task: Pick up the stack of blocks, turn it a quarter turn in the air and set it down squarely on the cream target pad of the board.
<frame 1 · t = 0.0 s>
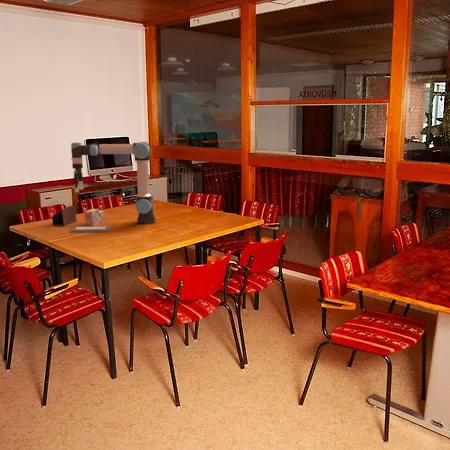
hand: (79, 190, 378), 28 cm above the table, tool pointing down, fingers open, 13 cm apart
letter holder: (64, 223, 395), on the table
base board: (90, 230, 372), on the table
stack of blocks: (95, 224, 392), on the table
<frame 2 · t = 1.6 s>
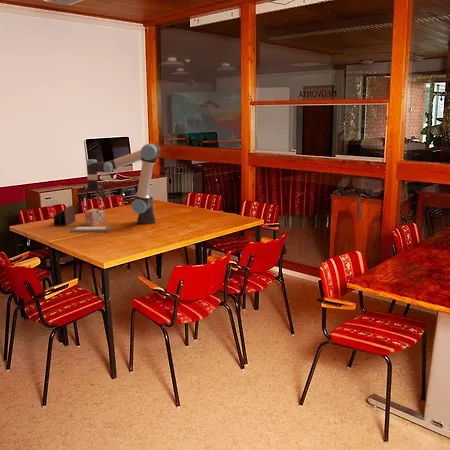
hand: (93, 206, 389), 15 cm above the table, tool pointing down, fingers open, 13 cm apart
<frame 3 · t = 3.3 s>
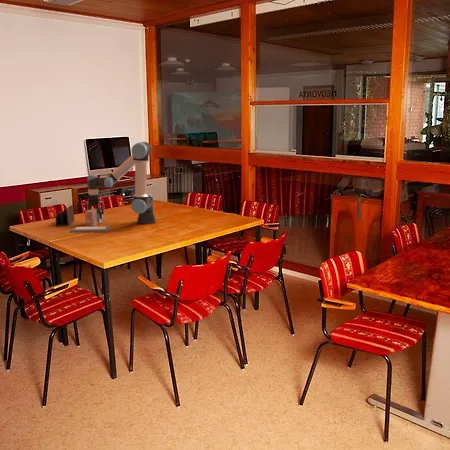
hand: (94, 222, 392), 1 cm above the table, tool pointing down, fingers closed on stack of blocks, 7 cm apart
stack of blocks: (95, 224, 393), on the table, touching gripper
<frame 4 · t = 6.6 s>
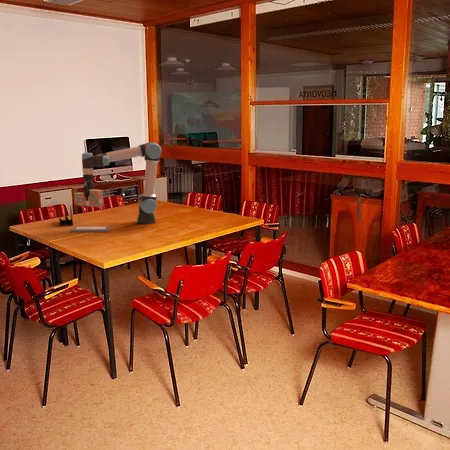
hand: (89, 204, 371), 19 cm above the table, tool pointing down, fingers closed on stack of blocks, 7 cm apart
stack of blocks: (89, 206, 371), point 18 cm above the table, touching gripper
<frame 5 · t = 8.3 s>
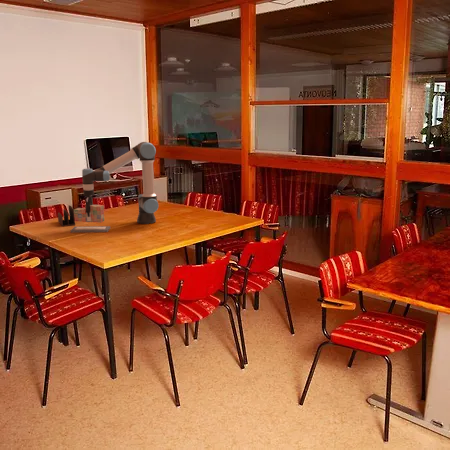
hand: (90, 219, 370), 8 cm above the table, tool pointing down, fingers closed on stack of blocks, 7 cm apart
stack of blocks: (89, 221, 370), point 7 cm above the table, touching gripper
when the fingers open (4 cm above the table, at t = 9.9 s): stack of blocks stays where it is, resting on base board.
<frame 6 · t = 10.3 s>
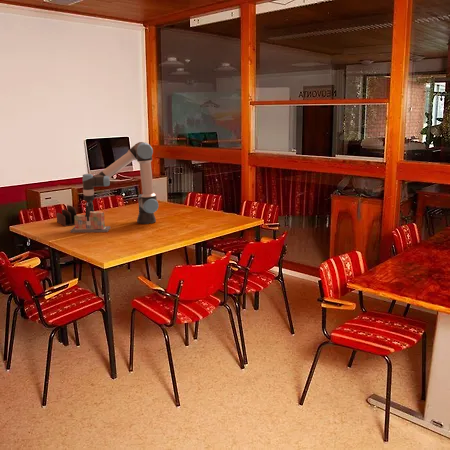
hand: (90, 223, 371), 5 cm above the table, tool pointing down, fingers open, 12 cm apart
stack of blocks: (90, 228, 372), point 2 cm above the table, touching base board
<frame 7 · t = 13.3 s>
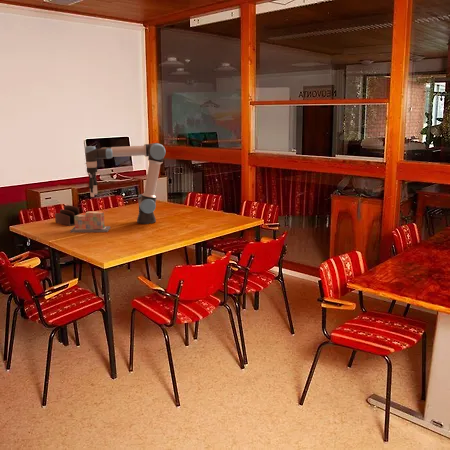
hand: (94, 195, 372), 26 cm above the table, tool pointing down, fingers open, 13 cm apart
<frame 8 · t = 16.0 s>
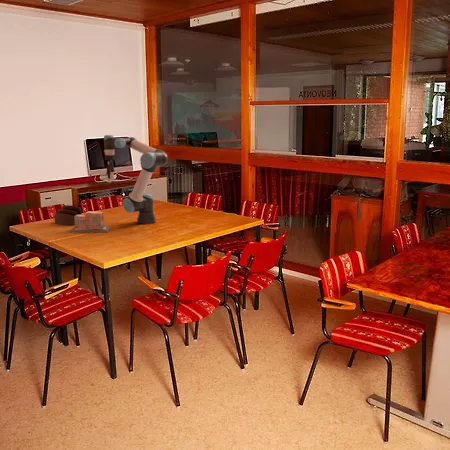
hand: (111, 181, 397), 33 cm above the table, tool pointing down, fingers open, 13 cm apart
at the end: stack of blocks 0.7 cm off-centre on the base board, point 1.6 cm above the base board's base; stack of blocks tilted 0°; stack of blocks touching base board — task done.
